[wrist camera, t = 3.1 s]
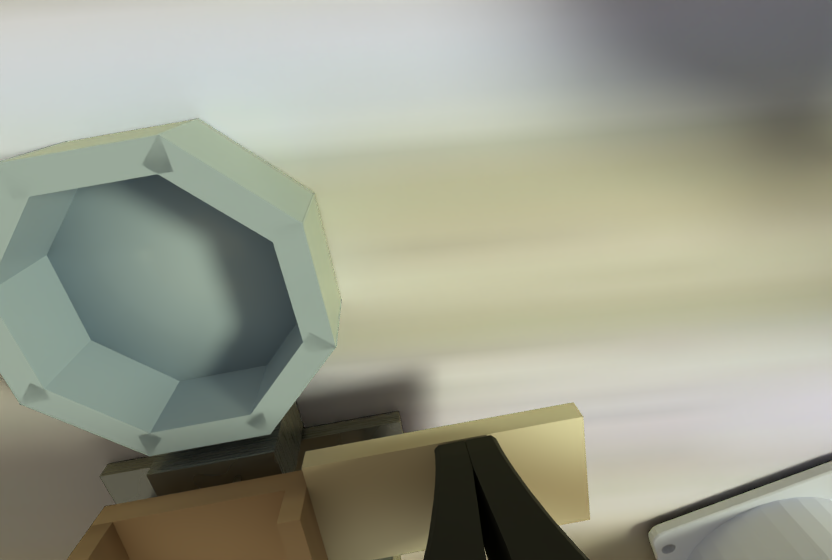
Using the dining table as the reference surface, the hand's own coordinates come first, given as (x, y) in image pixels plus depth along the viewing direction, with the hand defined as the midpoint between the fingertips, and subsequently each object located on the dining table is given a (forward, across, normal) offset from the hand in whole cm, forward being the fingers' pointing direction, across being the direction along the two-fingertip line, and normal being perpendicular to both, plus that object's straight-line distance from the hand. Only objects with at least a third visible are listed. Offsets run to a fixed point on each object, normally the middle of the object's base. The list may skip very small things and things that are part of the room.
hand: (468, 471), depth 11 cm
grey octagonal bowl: (+4, +6, -4) cm, 9 cm away
